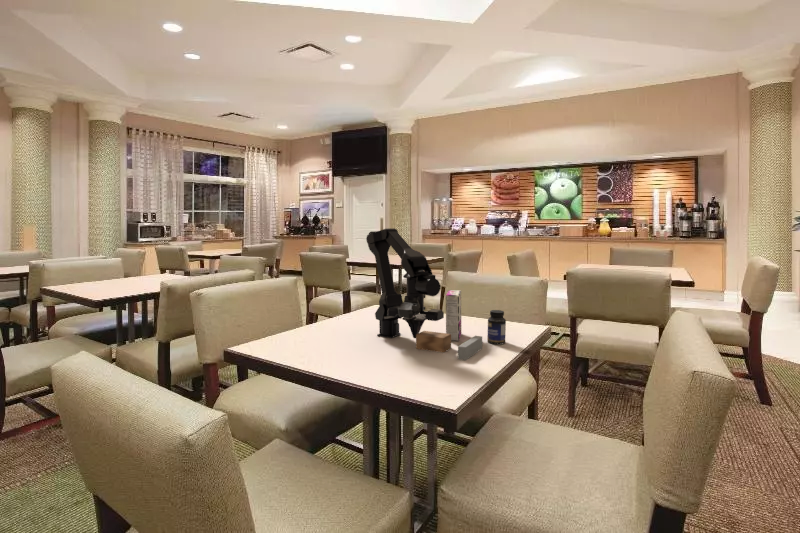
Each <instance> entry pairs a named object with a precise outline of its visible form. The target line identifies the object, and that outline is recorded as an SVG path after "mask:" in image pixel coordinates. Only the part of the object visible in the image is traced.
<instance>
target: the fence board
mask: <svg viewBox="0 0 800 533" xmlns="http://www.w3.org/2000/svg"><path fill="white" fill-rule="evenodd" d="M482 349H483V336H481V335H474V336H473V337H471V338H469V339H467V340H466V341H464V342H463V343H461V344H460V345H458V346H457V360H460V361H461V360H462V361H467V360H468V359H469V358H470V357H472V356H473V355H475V354H476V353H478V352H479V351H480V350H482Z"/></svg>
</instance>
